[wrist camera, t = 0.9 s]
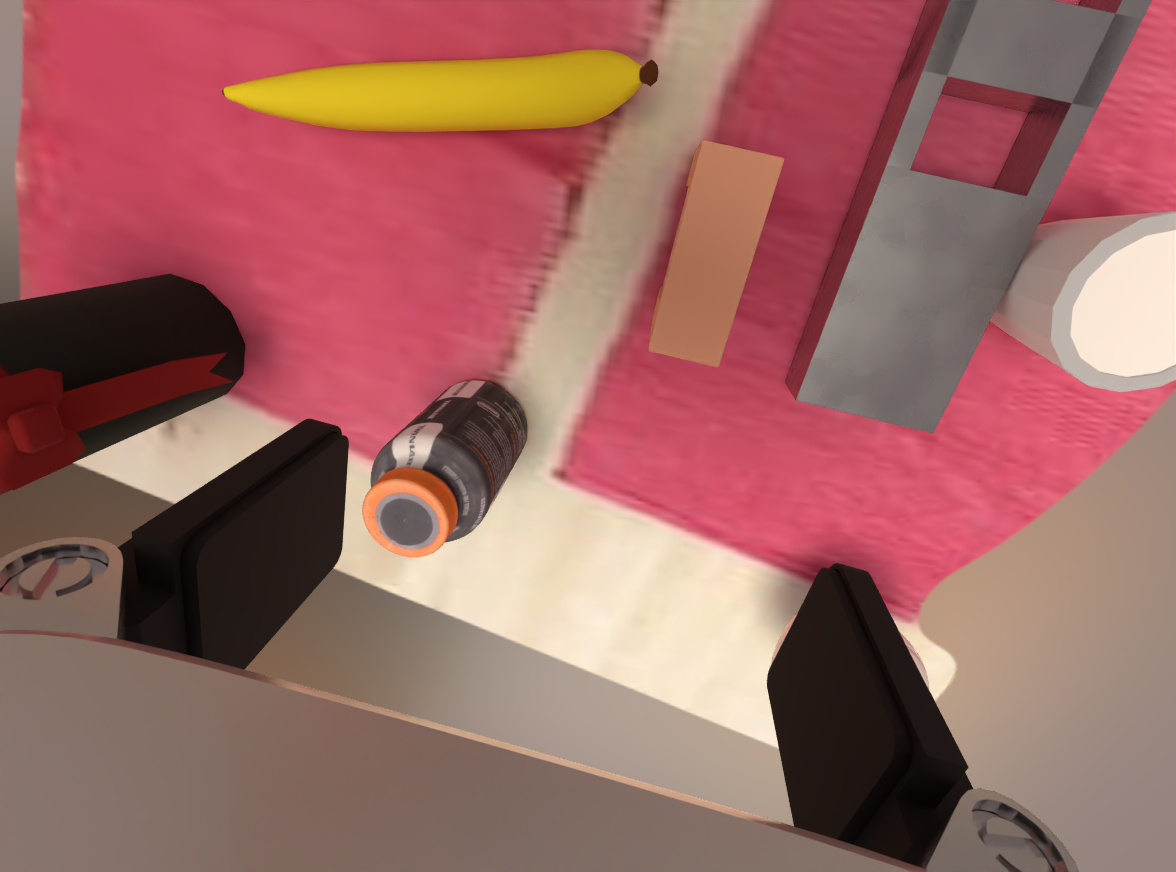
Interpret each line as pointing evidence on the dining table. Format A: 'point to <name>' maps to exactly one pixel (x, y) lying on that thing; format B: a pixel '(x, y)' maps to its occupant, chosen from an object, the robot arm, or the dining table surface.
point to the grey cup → (1099, 299)
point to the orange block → (712, 251)
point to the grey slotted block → (952, 203)
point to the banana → (453, 92)
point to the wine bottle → (106, 368)
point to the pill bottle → (444, 469)
